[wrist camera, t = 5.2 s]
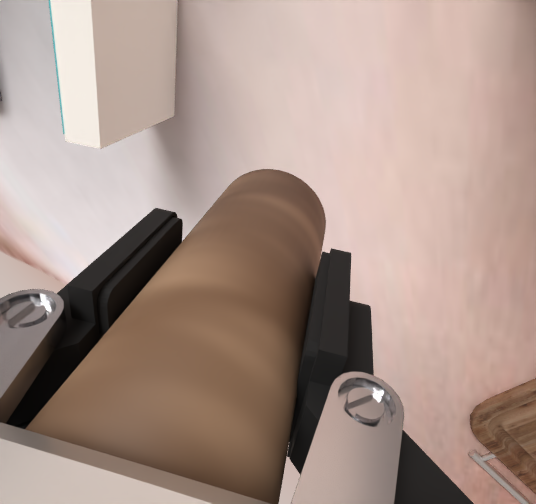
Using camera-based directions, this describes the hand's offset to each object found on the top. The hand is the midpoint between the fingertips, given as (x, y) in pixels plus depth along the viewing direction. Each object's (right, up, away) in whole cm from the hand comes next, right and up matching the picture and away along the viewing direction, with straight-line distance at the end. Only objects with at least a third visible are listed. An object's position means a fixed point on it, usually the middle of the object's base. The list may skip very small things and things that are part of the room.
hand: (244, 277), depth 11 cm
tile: (-7, +15, +16) cm, 23 cm away
